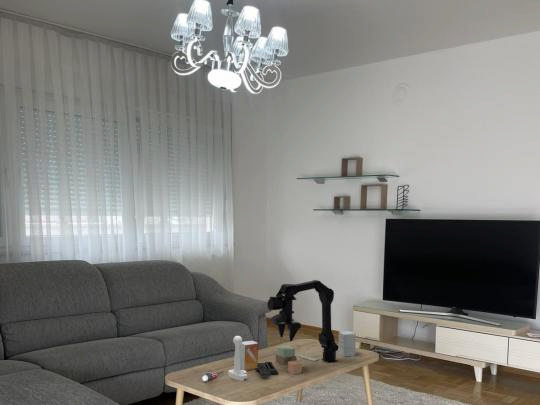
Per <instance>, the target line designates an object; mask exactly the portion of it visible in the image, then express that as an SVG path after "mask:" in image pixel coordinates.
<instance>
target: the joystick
mask: <svg viewBox="0 0 540 405" xmlns="http://www.w3.org/2000/svg"><path fill="white" fill-rule="evenodd" d="M232 342H233V344H234V346H235V347H234V361H233V368H232V369H228V376H229V377H230V378H232V379H233V380H236V381H240V382H244V381H245V380H248V374H247V373H248V372H247V371H248V370H242V369H240V345H241V343H242V342H243V338H242V336H240V335H235V336H234V337H233V339H232Z"/></svg>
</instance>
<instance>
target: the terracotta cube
mask: <svg viewBox="0 0 540 405" xmlns="http://www.w3.org/2000/svg"><path fill="white" fill-rule="evenodd" d="M302 363H303V362H301V361H299V360H296V361H289V362H288V365H287V373H289V374H291V375H298V374H302V371H303V369H302V366H303V364H302Z"/></svg>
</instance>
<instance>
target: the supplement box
mask: <svg viewBox="0 0 540 405" xmlns="http://www.w3.org/2000/svg"><path fill="white" fill-rule="evenodd" d="M338 346H339V348H338V351H337V352H338V354H339V355H340V354H341V355H340V356H342V357H343V356H344V357H343V358H346V356H347V357H355V356H356V333H355V332H353V331H351V330H345V331H343V330H342V331H341V330H340V331H338Z"/></svg>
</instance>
